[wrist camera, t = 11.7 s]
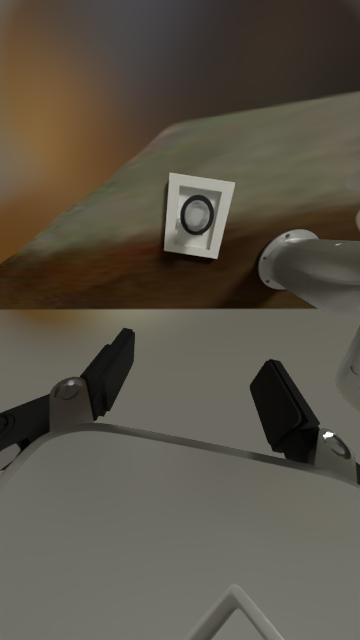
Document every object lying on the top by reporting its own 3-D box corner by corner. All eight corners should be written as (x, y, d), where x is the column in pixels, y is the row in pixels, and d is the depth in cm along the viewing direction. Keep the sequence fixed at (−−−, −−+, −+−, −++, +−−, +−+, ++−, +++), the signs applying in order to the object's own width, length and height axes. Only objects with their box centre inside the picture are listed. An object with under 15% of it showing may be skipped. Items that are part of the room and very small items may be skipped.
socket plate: (232, 185, 29) (235, 182, 27) (215, 257, 36) (216, 258, 34) (171, 176, 29) (169, 172, 28) (165, 249, 36) (163, 250, 34)
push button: (177, 235, 34) (172, 236, 25) (177, 205, 31) (170, 194, 22) (208, 234, 33) (213, 234, 24) (210, 203, 30) (216, 192, 22)
